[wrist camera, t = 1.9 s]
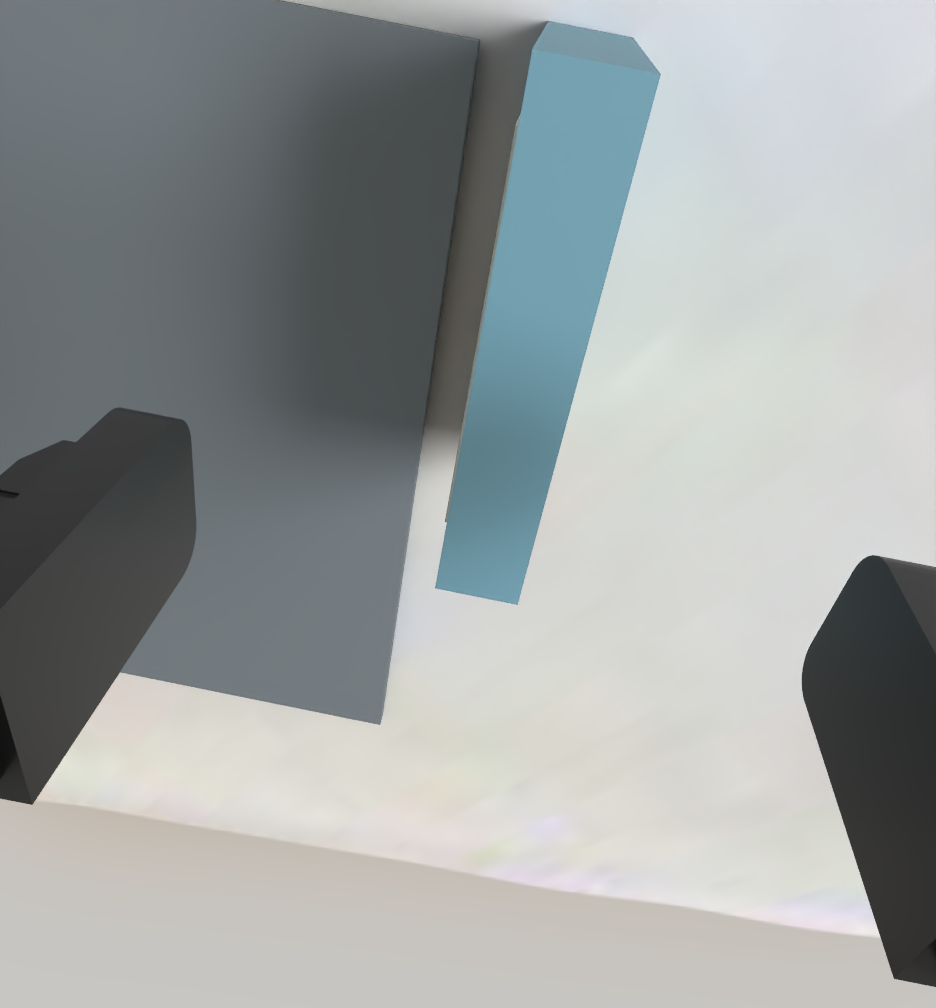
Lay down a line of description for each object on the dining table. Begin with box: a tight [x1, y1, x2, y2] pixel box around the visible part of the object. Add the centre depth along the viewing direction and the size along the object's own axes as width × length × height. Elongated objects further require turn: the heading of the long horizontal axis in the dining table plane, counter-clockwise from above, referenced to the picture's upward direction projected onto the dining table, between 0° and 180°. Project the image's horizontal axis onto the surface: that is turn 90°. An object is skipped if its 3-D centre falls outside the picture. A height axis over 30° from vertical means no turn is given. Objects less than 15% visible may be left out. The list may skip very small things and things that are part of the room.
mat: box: [0, 0, 480, 725], centre depth 20 cm, size 20×18×1 cm
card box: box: [435, 21, 661, 605], centre depth 14 cm, size 9×2×6 cm, turn 171°
